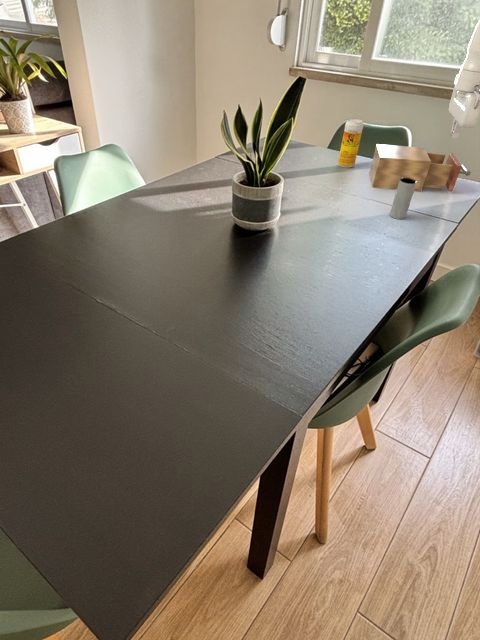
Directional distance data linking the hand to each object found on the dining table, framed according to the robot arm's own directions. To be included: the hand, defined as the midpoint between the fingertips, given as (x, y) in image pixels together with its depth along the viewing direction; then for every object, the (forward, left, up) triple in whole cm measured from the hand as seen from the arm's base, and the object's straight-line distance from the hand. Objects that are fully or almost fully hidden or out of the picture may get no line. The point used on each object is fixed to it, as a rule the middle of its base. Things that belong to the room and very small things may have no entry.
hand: (453, 137), depth 125 cm
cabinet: (+11, -10, -18) cm, 23 cm away
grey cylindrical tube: (+13, +19, -18) cm, 29 cm away
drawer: (-1, -10, -17) cm, 20 cm away
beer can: (+27, -23, -18) cm, 40 cm away
